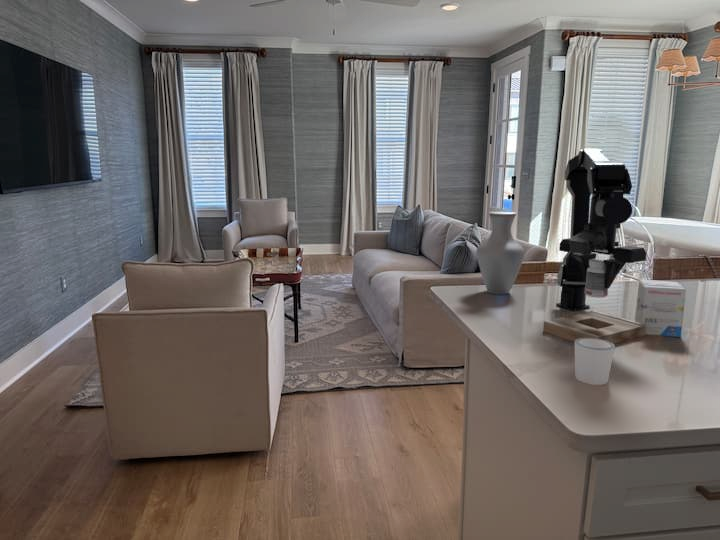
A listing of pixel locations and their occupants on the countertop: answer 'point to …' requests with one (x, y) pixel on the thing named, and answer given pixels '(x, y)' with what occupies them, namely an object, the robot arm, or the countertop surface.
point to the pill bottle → (596, 279)
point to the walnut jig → (595, 327)
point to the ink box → (660, 307)
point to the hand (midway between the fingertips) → (597, 286)
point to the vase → (500, 255)
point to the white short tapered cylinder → (593, 360)
